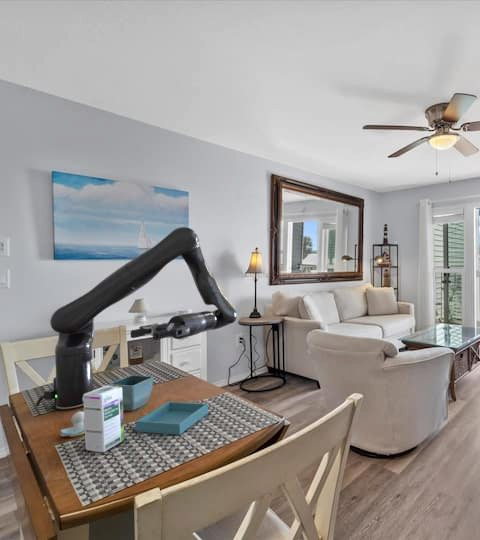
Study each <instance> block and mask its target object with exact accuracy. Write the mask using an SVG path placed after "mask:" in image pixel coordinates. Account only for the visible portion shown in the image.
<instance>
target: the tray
mask: <svg viewBox="0 0 480 540" xmlns="http://www.w3.org/2000/svg"><path fill="white" fill-rule="evenodd" d="M208 414H209V403H202V402H201V403H200V402H187V401H185V402H183V401H167V402H166V403H164V404H163V405H161V406H159V407H158V408H156V409H154V410H152V411H151V412H149V413H147V414H146V415H144V416H142V417H141V418H138V419H137V420H136V421H135V433H149V434H150V433H151V434H163V435H164V434H165V435H176V436H177V435H178V436H180V435H181V434H183V433H184V432H185V431H187V430H188V429H189V428H191V427H192V426H193V425H194V424H196V423H197V422H199V421H200V420H201V419H203V418H204V417H205V416H206V415H208Z"/></svg>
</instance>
